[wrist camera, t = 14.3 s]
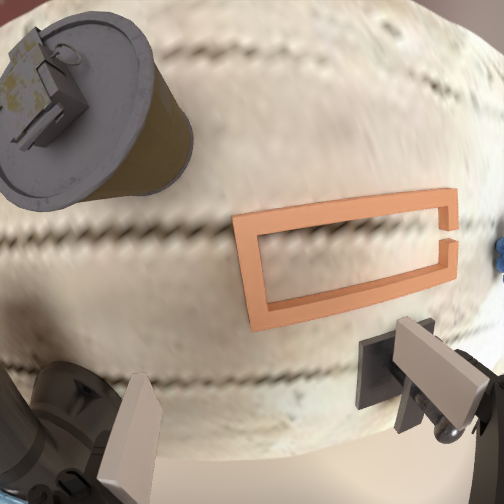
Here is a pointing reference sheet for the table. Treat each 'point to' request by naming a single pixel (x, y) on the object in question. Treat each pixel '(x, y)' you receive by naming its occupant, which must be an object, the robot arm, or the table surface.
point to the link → (352, 296)
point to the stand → (398, 387)
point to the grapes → (503, 261)
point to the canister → (87, 116)
